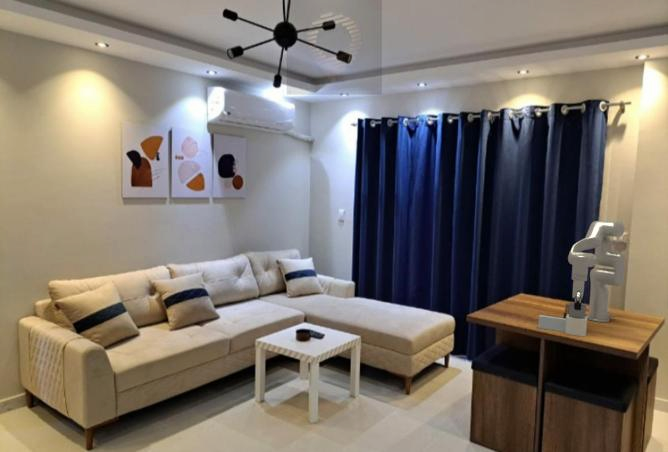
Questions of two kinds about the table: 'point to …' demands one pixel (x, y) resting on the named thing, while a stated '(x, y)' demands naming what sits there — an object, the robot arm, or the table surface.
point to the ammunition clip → (566, 310)
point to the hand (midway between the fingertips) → (577, 307)
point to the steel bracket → (577, 311)
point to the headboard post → (564, 324)
